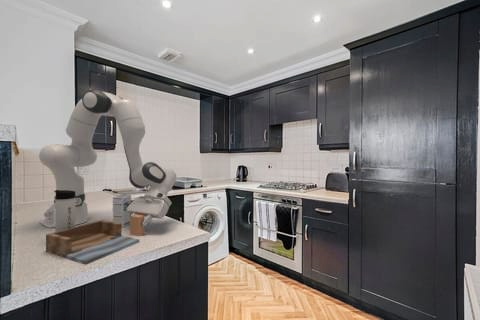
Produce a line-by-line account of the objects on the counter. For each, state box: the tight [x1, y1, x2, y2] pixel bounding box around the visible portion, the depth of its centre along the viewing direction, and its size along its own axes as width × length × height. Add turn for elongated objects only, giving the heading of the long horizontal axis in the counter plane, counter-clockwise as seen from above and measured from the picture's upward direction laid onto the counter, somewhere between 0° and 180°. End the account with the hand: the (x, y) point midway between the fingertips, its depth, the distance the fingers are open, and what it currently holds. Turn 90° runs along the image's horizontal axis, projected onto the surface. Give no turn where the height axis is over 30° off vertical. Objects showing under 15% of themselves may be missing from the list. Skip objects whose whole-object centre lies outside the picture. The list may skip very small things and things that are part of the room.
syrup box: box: [112, 194, 132, 228], centre depth 107 cm, size 6×6×14 cm
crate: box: [45, 219, 140, 265], centre depth 81 cm, size 22×20×6 cm
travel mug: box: [53, 189, 76, 232], centre depth 87 cm, size 6×7×20 cm
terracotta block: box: [129, 214, 145, 237], centre depth 94 cm, size 5×3×8 cm, turn 66°
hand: (137, 224), depth 94 cm, fingers open, 5 cm apart
